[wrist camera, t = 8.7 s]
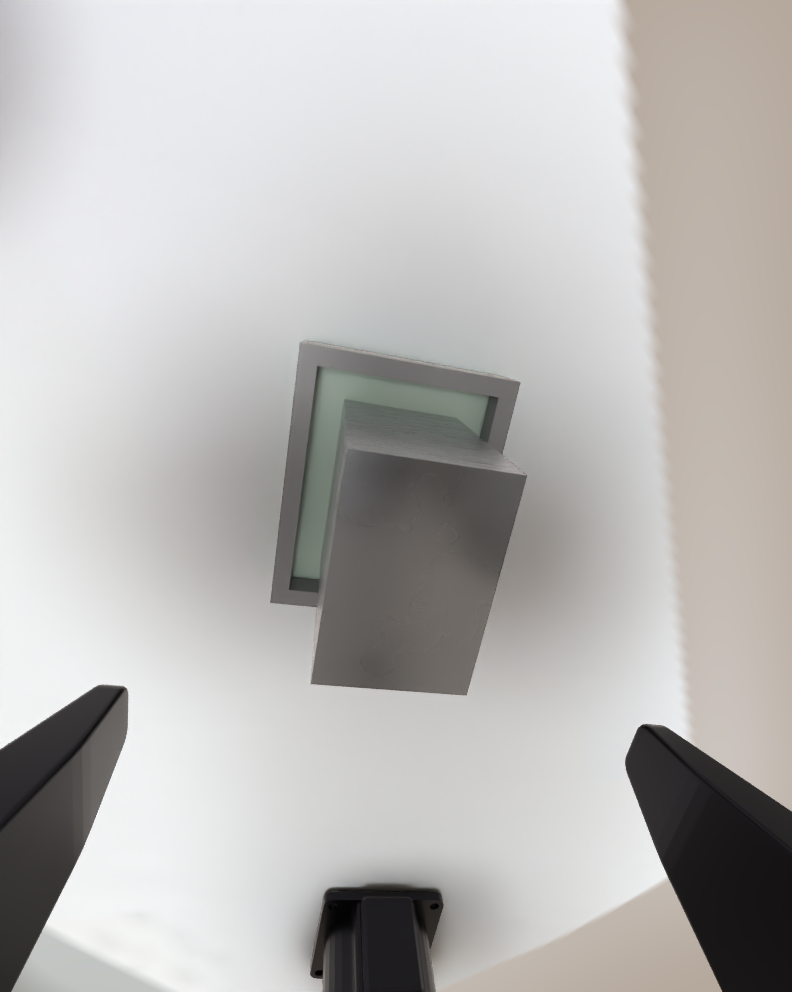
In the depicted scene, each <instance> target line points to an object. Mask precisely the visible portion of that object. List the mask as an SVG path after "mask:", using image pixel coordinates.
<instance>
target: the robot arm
mask: <svg viewBox="0 0 792 992" xmlns="http://www.w3.org/2000/svg"><path fill="white" fill-rule="evenodd" d="M127 728H128V691H127V689H126V688H125V687H124V686H114V685H99V686H96V687H94V688H93V689H91V690H90V691H88V692H87V693H85V694H84V695H82V696H81V697H79V698H78V699H76V700H75V701H73V702H71V703H70V704H68V705H67V706H65V707H64V708H62V709H61V710H59V711H58V712H56V713H55V714H53V715H52V716H50V717H49V718H47V719H46V720H44V721H43V722H41V723H40V724H38V725H36V726H35V727H33V728H32V729H30V730H29V731H27V732H26V733H24V734H23V735H21V736H20V737H18V738H17V739H15V740H14V741H12V742H11V743H9V744H8V745H6V746H5V747H3V748H2V749H0V992H11V991H12V989H13V987H14V985H15V983H16V981H17V979H18V977H19V975H20V974H21V972H22V970H23V968H24V966H25V964H26V962H27V960H28V958H29V956H30V953H31V952H32V950H33V948H34V946H35V944H36V942H37V940H38V938H39V936H40V934H41V932H42V930H43V928H44V926H45V924H46V922H47V920H48V918H49V916H50V914H51V912H52V910H53V908H54V906H55V904H56V902H57V900H58V898H59V896H60V894H61V892H62V890H63V888H64V886H65V884H66V882H67V880H68V878H69V876H70V874H71V872H72V870H73V868H74V866H75V864H76V862H77V860H78V858H79V856H80V854H81V852H82V849H83V847H84V845H85V842H86V840H87V838H88V835H89V833H90V830H91V828H92V825H93V822H94V820H95V817H96V815H97V812H98V810H99V807H100V804H101V802H102V799H103V797H104V794H105V791H106V789H107V786H108V784H109V781H110V779H111V776H112V773H113V771H114V768H115V766H116V763H117V760H118V758H119V755H120V753H121V750H122V748H123V745H124V742H125V739H126V734H127ZM625 766H626V771H627V774H628V777H629V779H630V782H631V785H632V787H633V790H634V793H635V795H636V798H637V800H638V803H639V806H640V808H641V811H642V814H643V816H644V819H645V822H646V824H647V827H648V829H649V832H650V835H651V837H652V840H653V843H654V845H655V848H656V850H657V853H658V855H659V858H660V860H661V863H662V865H663V867H664V869H665V871H666V874H667V876H668V878H669V880H670V882H671V884H672V886H673V888H674V891H675V893H676V895H677V897H678V899H679V901H680V903H681V905H682V907H683V910H684V912H685V914H686V916H687V918H688V920H689V922H690V924H691V926H692V928H693V931H694V933H695V935H696V937H697V939H698V941H699V943H700V946H701V948H702V950H703V952H704V954H705V956H706V958H707V960H708V962H709V964H710V967H711V969H712V971H713V973H714V975H715V977H716V979H717V981H718V984H719V986H720V987H721V990H722V992H792V811H790V810H788V809H787V808H785V807H784V806H782V805H781V804H780V803H778V802H777V801H775V800H774V799H772V798H771V797H769V796H768V795H766V794H765V793H763V792H762V791H760V790H759V789H757V788H756V787H754V786H753V785H751V784H750V783H749V782H747V781H745V780H744V779H743V778H741V777H740V776H738V775H737V774H735V773H734V772H732V771H731V770H729V769H728V768H726V767H725V766H723V765H722V764H720V763H719V762H717V761H716V760H714V759H713V758H711V757H710V756H708V755H707V754H705V753H704V752H702V751H701V750H699V749H698V748H697V747H695V746H694V745H692V744H691V743H689V742H688V741H686V740H685V739H683V738H682V737H680V736H679V735H677V734H676V733H674V732H673V731H671V730H670V729H668V728H667V727H665V726H662V725H652V724H643V725H641V726H640V727H639V728H638V729H637V732H636V734H635V736H634V739H633V741H632V743H631V746H630V748H629V751H628V753H627V755H626V760H625ZM442 909H443V899H442V895H441V894H440V893H437V892H329V893H327V894H326V895H325V896H324V899H323V904H322V909H321V914H320V919H319V924H318V930H317V935H316V940H315V945H314V950H313V955H312V960H311V969H310V975H311V976H312V977H313V978H317V979H323V992H436V990H435V983H434V976H433V969H432V962H431V955H430V948H431V945H432V942H433V938H434V935H435V932H436V929H437V925H438V922H439V919H440V916H441V912H442Z"/></svg>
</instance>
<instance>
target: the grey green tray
mask: <svg viewBox="0 0 792 992" xmlns="http://www.w3.org/2000/svg"><path fill="white" fill-rule="evenodd" d="M519 386H520V382H518V381H515V380H512V379H509V378H506V377H503V376H498V375H493V374H487V373H482V372H476V371H471V370H465V369H460V368H454V367H449V366H443V365H438V364H432V363H427V362H421V361H416V360H410V359H405V358H400V357H394V356H389V355H383V354H378V353H372V352H367V351H361V350H356V349H350V348H345V347H339V346H334V345H328V344H323V343H317V342H312V341H306V340H304V341H302V342H300V347H299V356H298V365H297V374H296V382H295V391H294V400H293V409H292V418H291V426H290V435H289V444H288V453H287V461H286V470H285V479H284V488H283V496H282V505H281V514H280V523H279V531H278V540H277V549H276V558H275V566H274V575H273V584H272V593H271V601H270V603H279V604H289V605H300V606H310V607H317V600H318V588H319V575H320V563H321V553H322V546H323V540H324V533H325V526H326V519H327V512H328V505H329V499H330V492H331V485H332V478H333V471H334V465H335V458H336V451H337V444H338V437H339V430H340V424H341V417H342V410H343V403H344V399H347V400H353V401H359V402H365V403H371V404H377V405H383V406H389V407H395V408H401V409H407V410H413V411H419V412H425V413H431V414H437V415H443V416H449V417H455V418H458V419H459V420H460V421H461V422H462V423H464V424H465V425H466V426H467V427H469V428H470V429H471V430H472V431H473V432H475V433H476V434H477V435H478V436H480V437H481V438H482V439H483V440H484V441H486V442H487V443H488V444H489V445H490V446H492V447H493V448H494V449H495V450H497V451H498V452H499V453H500V454H501V455H502V453H503V449H504V445H505V441H506V437H507V433H508V429H509V425H510V421H511V417H512V414H513V410H514V406H515V402H516V398H517V394H518V390H519Z"/></svg>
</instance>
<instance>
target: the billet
mask: <svg viewBox="0 0 792 992" xmlns="http://www.w3.org/2000/svg"><path fill="white" fill-rule="evenodd" d="M526 478H527V475H526V474H525V473H523V472H522V471H521V470H520V469H519V468H517V467H516V466H515V465H514V464H512V463H511V462H510V461H509V460H508V459H506V458H505V457H504V456H503V455H501V454H500V453H499V452H498V451H497V450H495V449H494V448H493V447H492V446H490V445H489V444H488V443H487V442H486V441H484V440H483V439H482V438H481V437H480V436H478V435H477V434H476V433H475V432H473V431H472V430H471V429H470V428H469V427H467V426H466V425H465V424H464V423H462V422H461V421H460V420H459V419H458V418H455V417H449V416H443V415H437V414H431V413H425V412H419V411H413V410H407V409H401V408H395V407H389V406H383V405H377V404H371V403H365V402H359V401H353V400H347V399H344V403H343V410H342V417H341V424H340V430H339V437H338V444H337V451H336V458H335V465H334V471H333V478H332V485H331V492H330V499H329V505H328V512H327V519H326V526H325V533H324V540H323V546H322V553H321V563H320V575H319V588H318V600H317V613H316V625H315V638H314V650H313V663H312V675H311V684H317V685H331V686H345V687H358V688H372V689H386V690H399V691H413V692H427V693H441V694H454V695H467V692H468V688H469V685H470V681H471V677H472V674H473V670H474V666H475V663H476V659H477V655H478V652H479V648H480V645H481V641H482V637H483V634H484V630H485V626H486V623H487V619H488V616H489V612H490V608H491V605H492V601H493V597H494V594H495V590H496V586H497V583H498V579H499V576H500V572H501V568H502V565H503V561H504V557H505V554H506V550H507V547H508V543H509V539H510V536H511V532H512V528H513V525H514V521H515V517H516V514H517V510H518V507H519V503H520V499H521V496H522V492H523V488H524V485H525V481H526Z"/></svg>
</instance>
